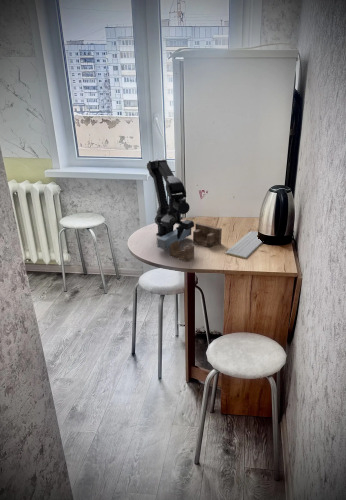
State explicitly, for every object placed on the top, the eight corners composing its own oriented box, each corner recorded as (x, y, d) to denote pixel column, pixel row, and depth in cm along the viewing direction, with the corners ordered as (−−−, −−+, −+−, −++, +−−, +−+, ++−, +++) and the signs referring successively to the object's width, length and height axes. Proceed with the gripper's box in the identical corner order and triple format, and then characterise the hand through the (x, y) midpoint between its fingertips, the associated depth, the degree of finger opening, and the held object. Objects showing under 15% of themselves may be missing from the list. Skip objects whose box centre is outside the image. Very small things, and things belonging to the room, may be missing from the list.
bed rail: (157, 247, 183) (157, 238, 181) (184, 232, 199) (184, 224, 197) (164, 249, 181) (164, 240, 179) (191, 234, 197) (191, 226, 195)
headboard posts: (166, 254, 180) (166, 239, 176) (197, 237, 199) (197, 222, 195) (191, 263, 172) (191, 246, 169) (221, 243, 191) (221, 228, 188)
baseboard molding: (221, 254, 182) (245, 260, 176) (221, 248, 181) (245, 254, 175) (247, 232, 206) (269, 237, 200) (247, 227, 204) (269, 232, 198)
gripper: (148, 208, 182) (149, 238, 188) (181, 216, 172) (180, 248, 178) (163, 202, 190) (163, 231, 197) (195, 209, 180) (194, 240, 186)
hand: (175, 237), depth 189 cm, fingers closed on bed rail, 4 cm apart
